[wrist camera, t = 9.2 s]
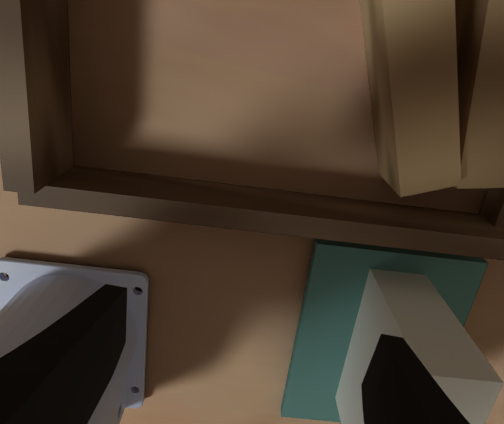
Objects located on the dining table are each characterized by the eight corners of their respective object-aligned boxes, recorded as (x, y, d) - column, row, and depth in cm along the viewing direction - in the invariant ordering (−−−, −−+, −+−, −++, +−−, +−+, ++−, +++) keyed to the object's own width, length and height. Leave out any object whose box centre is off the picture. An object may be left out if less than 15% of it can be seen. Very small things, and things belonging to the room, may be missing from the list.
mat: (420, 422, 27) (423, 430, 27) (280, 408, 27) (281, 416, 26) (482, 257, 23) (488, 263, 22) (315, 238, 22) (317, 243, 22)
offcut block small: (480, 167, 21) (515, 187, 18) (429, 168, 21) (456, 188, 18) (520, -44, 18) (570, -59, 15) (459, -42, 18) (497, -56, 15)
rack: (491, 234, 22) (539, 274, 18) (49, 182, 21) (6, 213, 17) (626, -123, 16) (736, -169, 13) (25, -219, 15) (-48, -301, 12)
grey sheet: (383, 402, 26) (432, 537, 19) (335, 397, 26) (366, 532, 19) (425, 274, 22) (503, 382, 15) (369, 268, 22) (422, 374, 15)
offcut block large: (428, 161, 21) (461, 184, 18) (377, 172, 21) (400, 197, 18) (413, -74, 17) (451, -99, 14) (351, -58, 17) (374, -79, 14)
